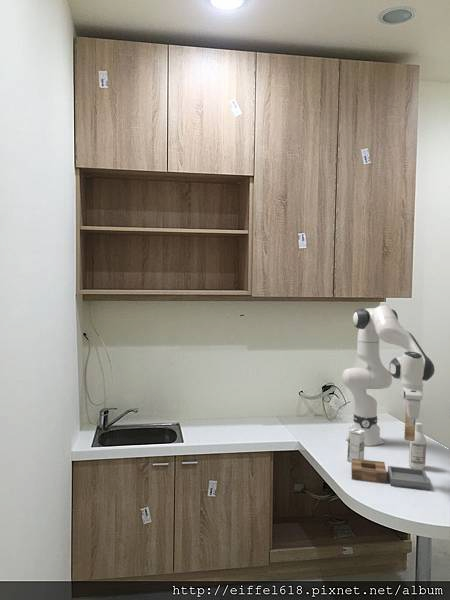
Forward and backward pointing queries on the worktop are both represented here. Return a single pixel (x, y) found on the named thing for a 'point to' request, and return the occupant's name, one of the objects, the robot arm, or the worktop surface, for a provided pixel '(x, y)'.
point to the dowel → (409, 429)
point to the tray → (408, 478)
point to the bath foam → (417, 449)
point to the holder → (368, 470)
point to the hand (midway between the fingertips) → (410, 423)
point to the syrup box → (356, 444)
